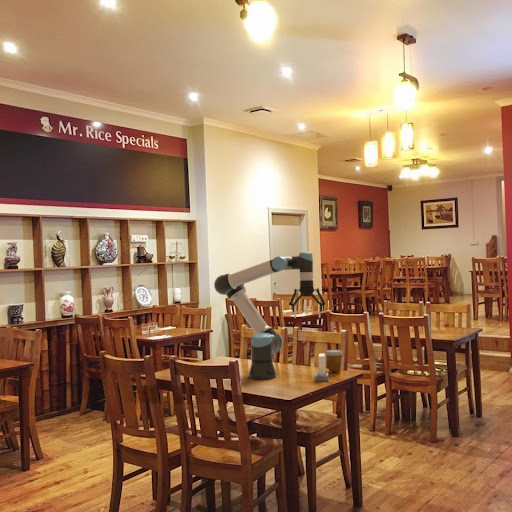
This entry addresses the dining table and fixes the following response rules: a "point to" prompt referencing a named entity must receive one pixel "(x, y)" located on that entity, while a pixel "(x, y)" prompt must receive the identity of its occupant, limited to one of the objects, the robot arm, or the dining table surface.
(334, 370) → the disposable coffee cup
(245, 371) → the dining table surface
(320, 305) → the robot arm
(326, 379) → the track
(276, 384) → the dining table surface
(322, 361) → the door panel
